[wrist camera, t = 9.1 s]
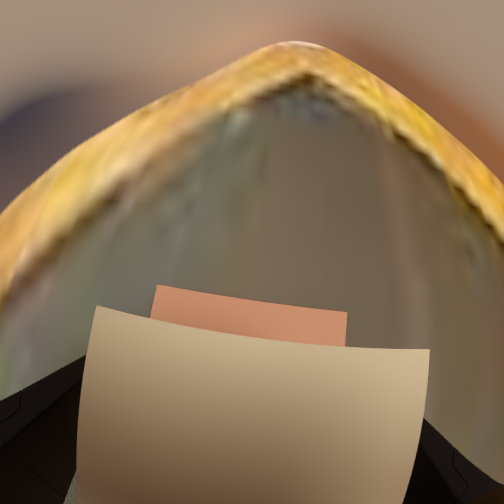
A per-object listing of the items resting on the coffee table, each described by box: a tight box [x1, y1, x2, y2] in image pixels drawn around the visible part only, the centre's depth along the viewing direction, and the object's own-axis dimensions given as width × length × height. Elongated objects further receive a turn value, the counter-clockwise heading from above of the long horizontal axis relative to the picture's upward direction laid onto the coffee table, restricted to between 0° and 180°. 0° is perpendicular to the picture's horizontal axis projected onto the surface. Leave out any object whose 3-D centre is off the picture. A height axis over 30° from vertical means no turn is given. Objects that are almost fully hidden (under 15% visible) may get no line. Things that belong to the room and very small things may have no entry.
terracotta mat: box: [150, 285, 347, 347], centre depth 15 cm, size 12×12×1 cm
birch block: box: [76, 306, 430, 504], centre depth 9 cm, size 5×5×13 cm
